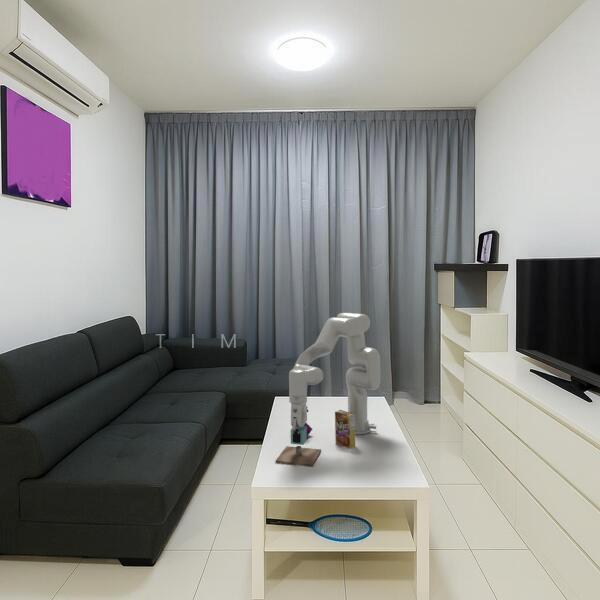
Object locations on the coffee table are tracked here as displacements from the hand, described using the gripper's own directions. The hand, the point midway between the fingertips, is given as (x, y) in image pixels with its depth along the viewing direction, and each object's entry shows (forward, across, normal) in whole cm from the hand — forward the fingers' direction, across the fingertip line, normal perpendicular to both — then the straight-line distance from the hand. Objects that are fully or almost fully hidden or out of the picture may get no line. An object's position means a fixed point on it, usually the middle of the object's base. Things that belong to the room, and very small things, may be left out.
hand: (298, 439), depth 197 cm
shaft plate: (+8, 0, 0) cm, 8 cm away
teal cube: (+1, 0, 0) cm, 1 cm away
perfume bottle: (+8, +24, +5) cm, 26 cm away
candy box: (+8, +18, -17) cm, 26 cm away
